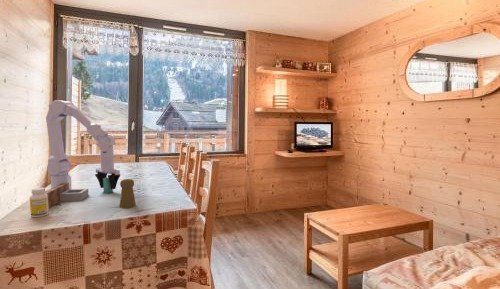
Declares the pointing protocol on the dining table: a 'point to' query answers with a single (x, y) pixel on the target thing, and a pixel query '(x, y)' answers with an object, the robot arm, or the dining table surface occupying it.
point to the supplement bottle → (39, 203)
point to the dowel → (107, 185)
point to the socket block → (73, 194)
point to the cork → (127, 194)
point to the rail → (56, 193)
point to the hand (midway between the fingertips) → (108, 188)
